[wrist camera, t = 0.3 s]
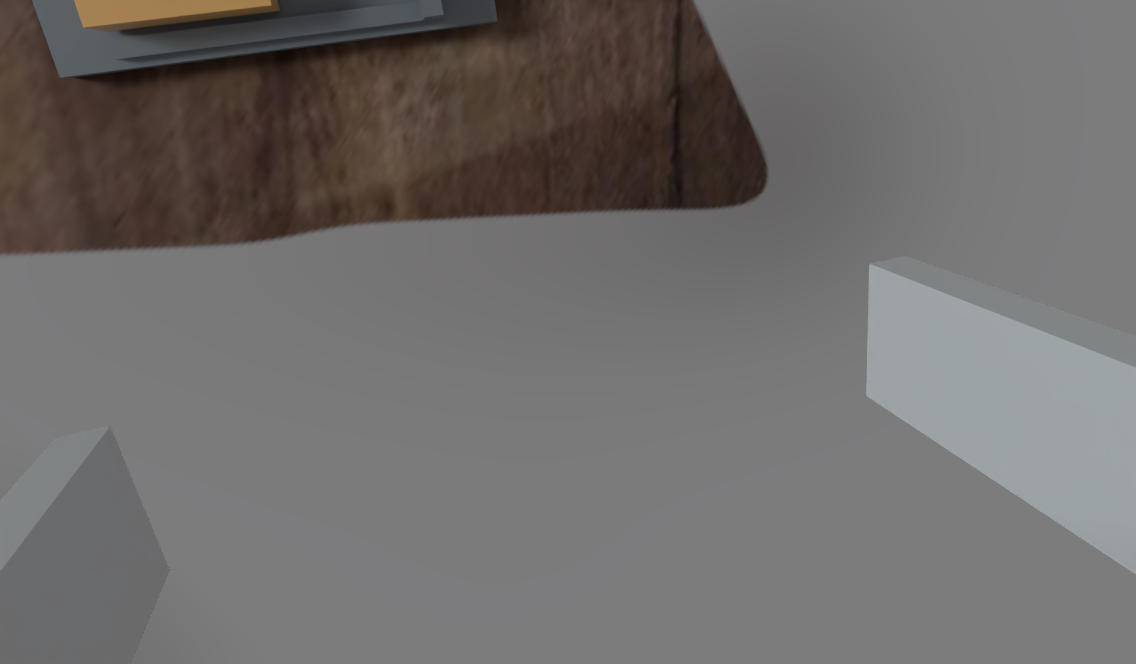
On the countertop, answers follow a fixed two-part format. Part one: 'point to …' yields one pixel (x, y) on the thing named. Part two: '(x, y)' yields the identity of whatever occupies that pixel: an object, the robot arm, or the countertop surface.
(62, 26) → the housing
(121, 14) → the bar
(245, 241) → the countertop surface
